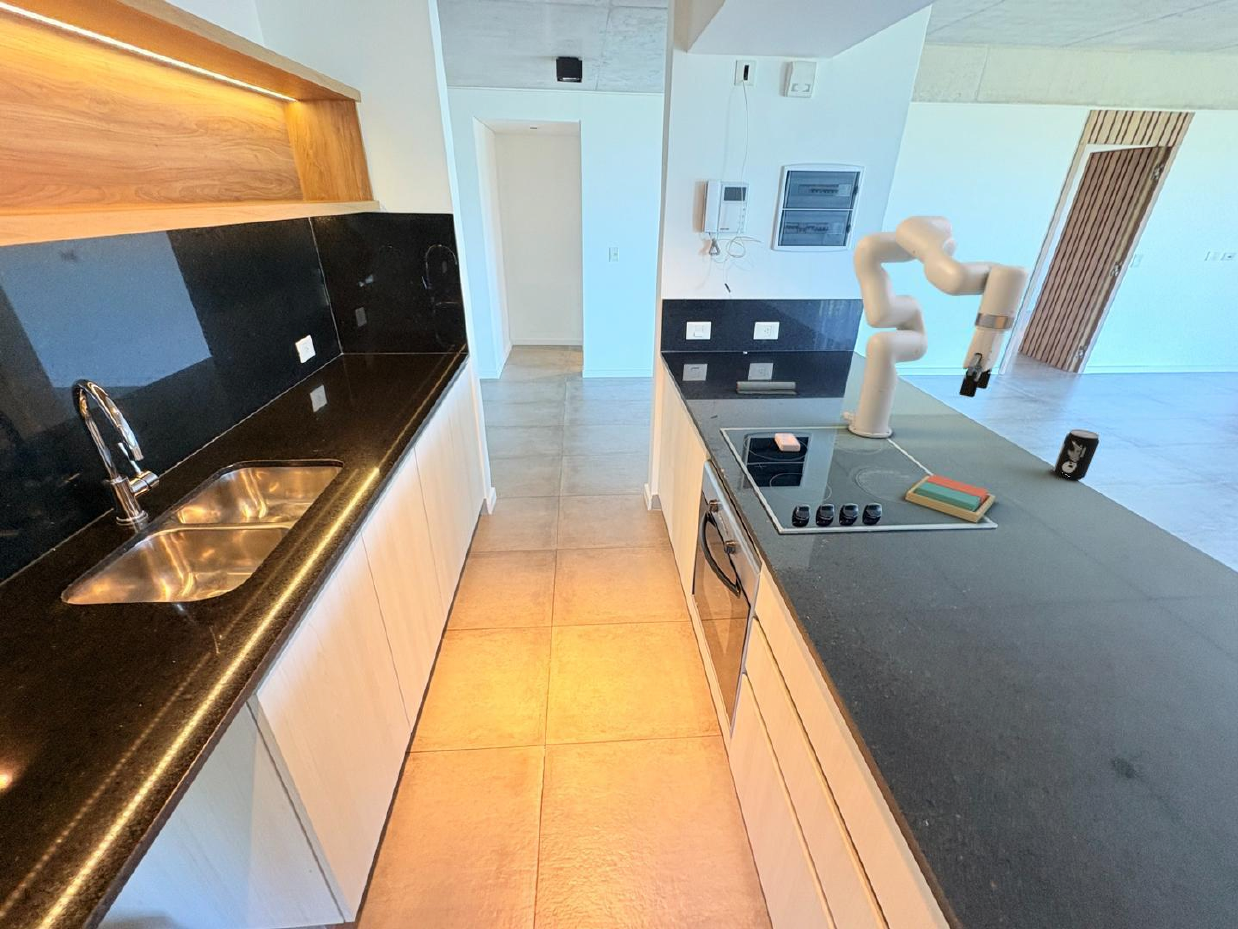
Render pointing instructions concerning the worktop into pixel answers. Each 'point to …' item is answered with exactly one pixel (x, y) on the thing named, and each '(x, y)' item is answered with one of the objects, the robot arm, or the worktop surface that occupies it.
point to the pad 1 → (949, 496)
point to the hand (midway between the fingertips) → (972, 391)
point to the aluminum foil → (765, 387)
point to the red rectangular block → (959, 487)
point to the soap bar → (787, 442)
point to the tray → (947, 507)
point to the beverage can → (1076, 454)
